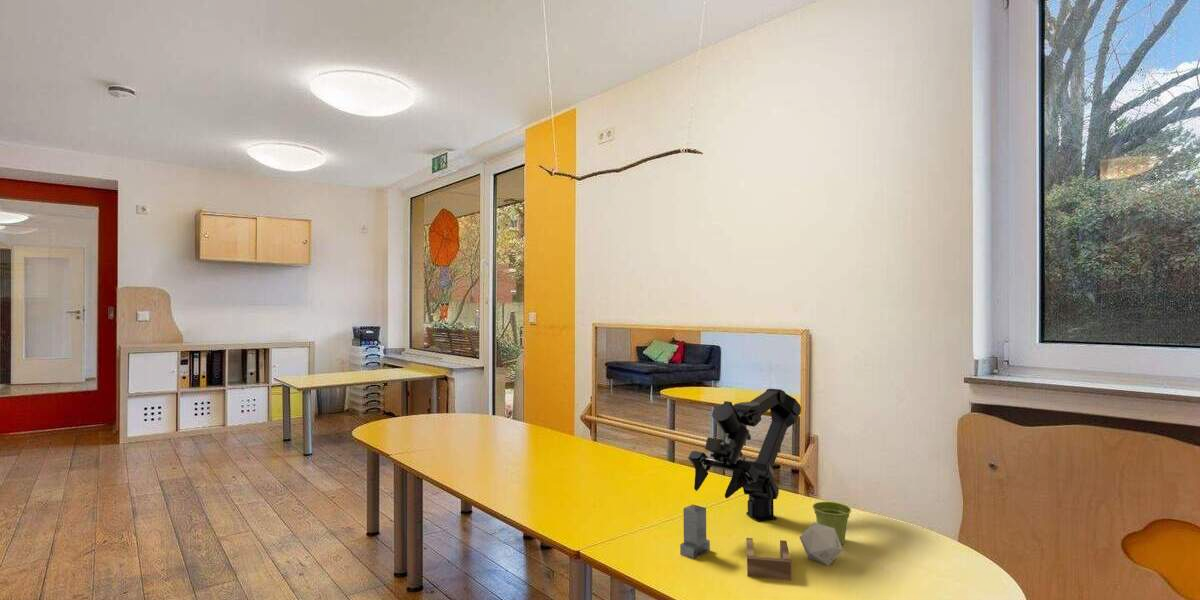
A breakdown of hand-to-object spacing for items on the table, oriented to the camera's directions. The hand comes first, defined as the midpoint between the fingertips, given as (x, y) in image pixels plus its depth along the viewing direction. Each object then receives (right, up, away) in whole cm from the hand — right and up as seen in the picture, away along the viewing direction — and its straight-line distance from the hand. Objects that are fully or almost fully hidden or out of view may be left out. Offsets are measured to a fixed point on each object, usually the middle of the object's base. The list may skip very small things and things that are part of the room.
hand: (710, 493), depth 151 cm
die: (+25, -13, -10) cm, 30 cm away
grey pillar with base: (-5, -13, -5) cm, 15 cm away
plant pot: (+32, -13, +1) cm, 34 cm away
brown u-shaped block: (+11, -13, -13) cm, 21 cm away
